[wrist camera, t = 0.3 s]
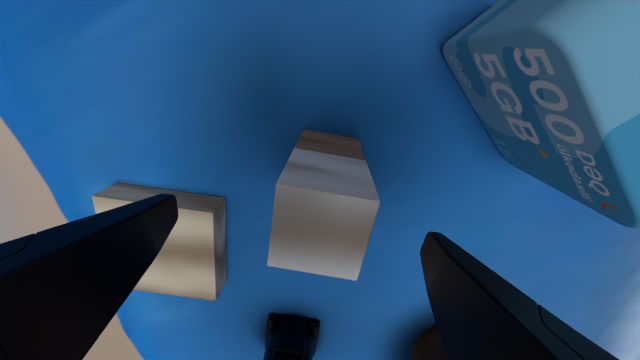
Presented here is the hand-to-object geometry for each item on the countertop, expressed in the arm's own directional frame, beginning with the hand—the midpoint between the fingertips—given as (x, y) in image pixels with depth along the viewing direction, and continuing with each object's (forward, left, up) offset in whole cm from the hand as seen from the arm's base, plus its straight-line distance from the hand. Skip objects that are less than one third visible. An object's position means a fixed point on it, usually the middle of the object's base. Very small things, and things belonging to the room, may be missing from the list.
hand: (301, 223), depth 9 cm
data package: (+5, -14, -16) cm, 21 cm away
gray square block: (-3, -1, -15) cm, 16 cm away
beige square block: (-14, +14, -15) cm, 25 cm away
